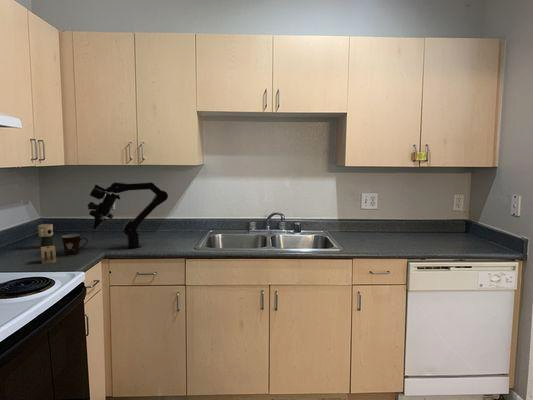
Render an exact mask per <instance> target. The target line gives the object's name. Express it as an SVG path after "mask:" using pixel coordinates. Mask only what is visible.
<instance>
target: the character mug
mask: <svg viewBox="0 0 533 400" xmlns="http://www.w3.org/2000/svg"><path fill="white" fill-rule="evenodd" d="M37 228H38V236H39V237H40V238H41V239H40V248H41V247H47V246H54V241H53V238H52V236H53V235H54V232H53V230H54V227H53V224H52V223H44V224H43V223H42V224H39V225H37Z"/></svg>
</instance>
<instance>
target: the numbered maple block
mask: <svg viewBox="0 0 533 400" xmlns="http://www.w3.org/2000/svg"><path fill="white" fill-rule="evenodd" d="M55 246H56V245H52V246H47V247H41V246H40V254H41V263H42V265H44V264H51V263H56V262H57V254H56V247H55ZM50 262H51V263H50Z"/></svg>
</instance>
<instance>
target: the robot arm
mask: <svg viewBox="0 0 533 400" xmlns="http://www.w3.org/2000/svg"><path fill="white" fill-rule="evenodd" d="M142 190H143V191H144V190H150V191H151V192H153V194H155V195H154V196H153V198H152V200H151V201H150V202H149V203H148V204H147V205H146V206H145V207H144V208H143V210H142V211H140V212H139V213H138V215H136V216H135V218H133V219H132V220H131V219H130V218H129V219H128V220H127V221H126V222H125V223H124V224H123V228H122V229H123V232H124V234H125V235H126V236H127V240H126V241H127V245H126V246H125V248H127V249H131V250H133V249H137V248H138V249H139V248H141V247H142V245H140V241H139V240H140V239H139V237H140V235H139V232H138V230H137V229H138V227H139V226H140V224H141V223H142V222H143V221H144V220H145V219H146V218H147V217H148V216H149V215H150V214H151V213H152V212H153V211H154V210H155V208H157V207H158V206H159V205H161V204H163V203H164V202H166V201H167V200H168V198H169V194H168V193H167V191H165V190H164V189H163V190H161V189H160V188H159V187H158V186H156V185H155V183H153V182H152V181H150V182H138V183H135V182H134V183H127V182H126V183H125V182H124V183H123V182H117V181H116V182H112V183H111V185H110V186H109V187H106V188H104V187H102V186H100V185H99V184H95V185H94V186H93V188H92V190H91V192H90V194H89V197H92V198H94V199H96V200H101V199H102V201H101V202H99V204H98V203H97V204H95V202H93V201H90V202H89V203H87V207H88V208H87V209H88V210H89V213H88V214H89V215H90V216H92V217H93V218H94V224H93V229H94V230H97V229H98V228H100V226H102V225H103V224H104V223H105V222H107V221H108V219H109V220H113V217H114V215H113V214H112V213H111V210H113V209H114V204H115V203H116V201H117V200H119V201H120V200H121V197H120V193H124V192H128V191H142ZM107 218H108V219H107Z"/></svg>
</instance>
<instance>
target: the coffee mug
mask: <svg viewBox="0 0 533 400" xmlns="http://www.w3.org/2000/svg"><path fill="white" fill-rule="evenodd" d="M61 239H62V245H63V249H64V253H65V254H64V255H65V256H66V255H74V256H77V255H76V254H78V255H79V254H80V250H81V248H83V247H85V246H86V245H87V244H88V241H89V240H88V238H86V237H81V234H79V233H72V234H65V235H62V236H61ZM84 239H85V240H86V242H85V244H83V245H81V246H80V242H81V240H84Z"/></svg>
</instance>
